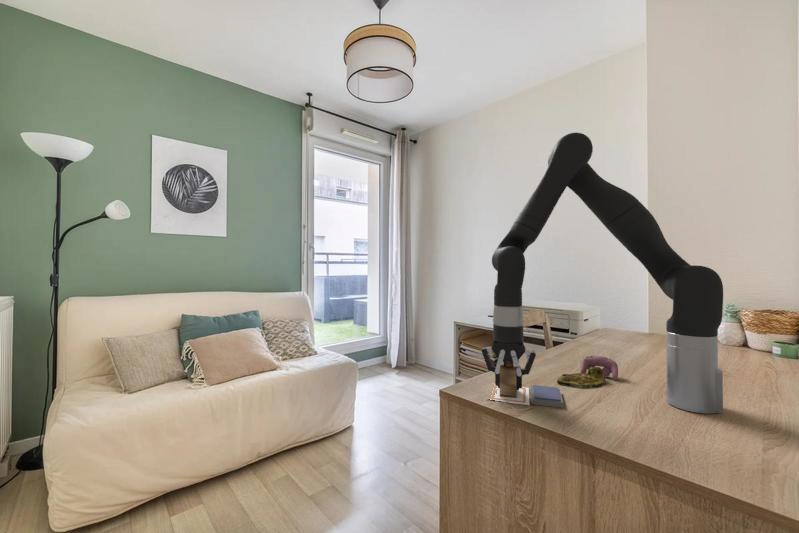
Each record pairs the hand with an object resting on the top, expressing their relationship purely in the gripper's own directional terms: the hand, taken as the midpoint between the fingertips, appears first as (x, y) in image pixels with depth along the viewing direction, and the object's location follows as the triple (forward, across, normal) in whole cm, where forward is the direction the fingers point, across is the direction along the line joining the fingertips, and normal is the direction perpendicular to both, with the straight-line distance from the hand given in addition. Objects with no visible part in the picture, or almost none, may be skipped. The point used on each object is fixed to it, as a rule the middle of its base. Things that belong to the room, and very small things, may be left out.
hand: (508, 388), depth 89 cm
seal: (+2, -19, -16) cm, 25 cm away
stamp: (+1, 0, 0) cm, 1 cm away
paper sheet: (+2, 0, 0) cm, 2 cm away
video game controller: (+2, -25, -24) cm, 35 cm away
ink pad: (+2, -9, 0) cm, 9 cm away
